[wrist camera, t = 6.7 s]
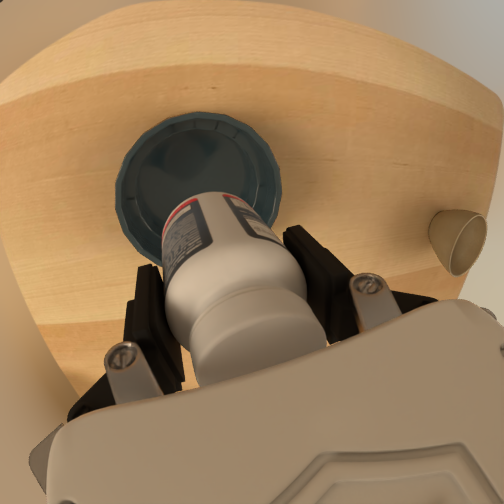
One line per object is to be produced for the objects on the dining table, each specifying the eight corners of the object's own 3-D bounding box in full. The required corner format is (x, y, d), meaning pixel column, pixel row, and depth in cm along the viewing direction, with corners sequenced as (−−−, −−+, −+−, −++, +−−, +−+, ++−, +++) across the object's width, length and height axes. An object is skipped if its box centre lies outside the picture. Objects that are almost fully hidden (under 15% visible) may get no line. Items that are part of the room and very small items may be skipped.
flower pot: (444, 183, 34) (480, 200, 28) (460, 219, 39) (490, 238, 33) (408, 234, 36) (443, 258, 30) (429, 264, 41) (457, 287, 35)
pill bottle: (170, 286, 16) (189, 426, 8) (154, 198, 13) (144, 318, 6) (260, 270, 17) (330, 390, 10) (258, 184, 15) (360, 275, 7)
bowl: (109, 134, 21) (95, 140, 17) (252, 101, 23) (270, 99, 19) (147, 260, 28) (145, 289, 23) (269, 228, 30) (288, 250, 26)
